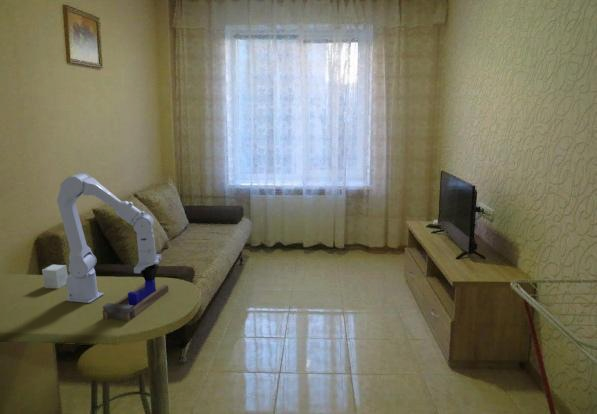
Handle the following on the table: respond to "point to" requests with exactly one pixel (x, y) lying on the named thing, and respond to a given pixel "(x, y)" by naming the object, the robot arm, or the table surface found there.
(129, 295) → the cable clip
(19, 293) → the table surface
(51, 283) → the skincare box
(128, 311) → the cable track
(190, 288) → the table surface
